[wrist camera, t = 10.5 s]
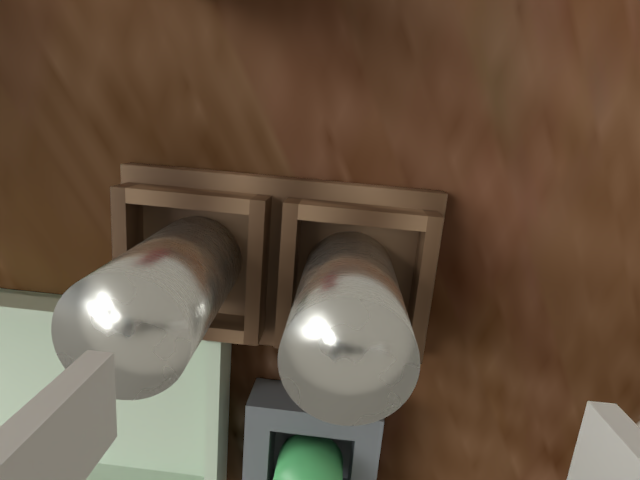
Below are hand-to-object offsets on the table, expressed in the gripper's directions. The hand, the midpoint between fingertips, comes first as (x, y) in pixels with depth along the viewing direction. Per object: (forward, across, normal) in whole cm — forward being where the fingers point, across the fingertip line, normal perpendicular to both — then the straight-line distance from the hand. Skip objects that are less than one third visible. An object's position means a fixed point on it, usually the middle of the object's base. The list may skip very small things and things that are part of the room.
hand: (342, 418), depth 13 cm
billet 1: (+13, -8, 0) cm, 16 cm away
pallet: (+15, -4, 0) cm, 15 cm away
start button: (+13, -1, -12) cm, 17 cm away
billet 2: (+13, 0, 0) cm, 13 cm away
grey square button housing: (+14, -1, -12) cm, 19 cm away
